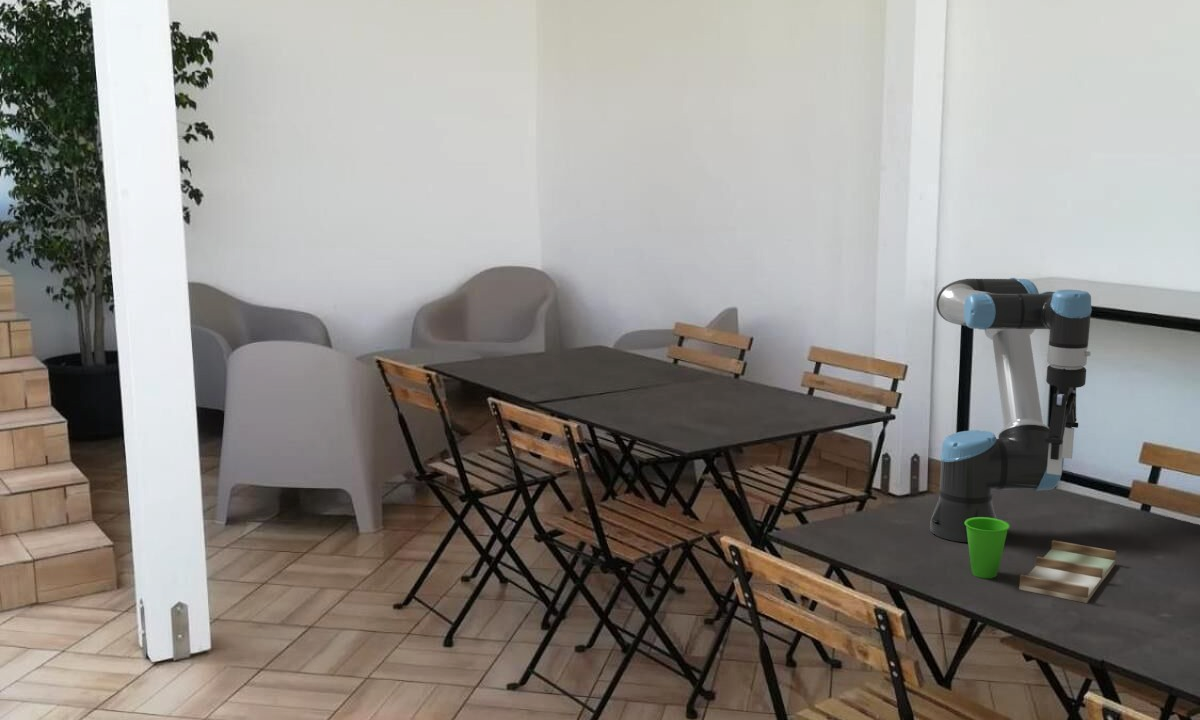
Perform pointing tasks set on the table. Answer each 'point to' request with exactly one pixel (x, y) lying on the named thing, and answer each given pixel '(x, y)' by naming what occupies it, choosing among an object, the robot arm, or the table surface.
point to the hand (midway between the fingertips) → (1059, 465)
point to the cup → (986, 544)
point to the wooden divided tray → (1069, 571)
